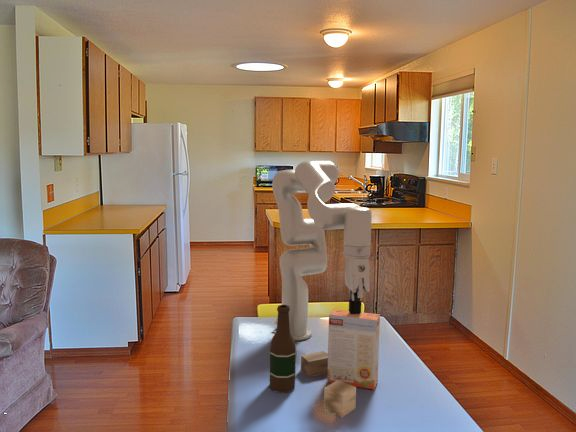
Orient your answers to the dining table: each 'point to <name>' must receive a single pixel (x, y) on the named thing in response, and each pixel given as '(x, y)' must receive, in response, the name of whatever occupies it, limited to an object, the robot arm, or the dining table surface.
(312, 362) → the walnut block
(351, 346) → the cracker box
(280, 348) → the beer bottle
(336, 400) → the maple block
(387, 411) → the dining table surface
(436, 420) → the dining table surface
